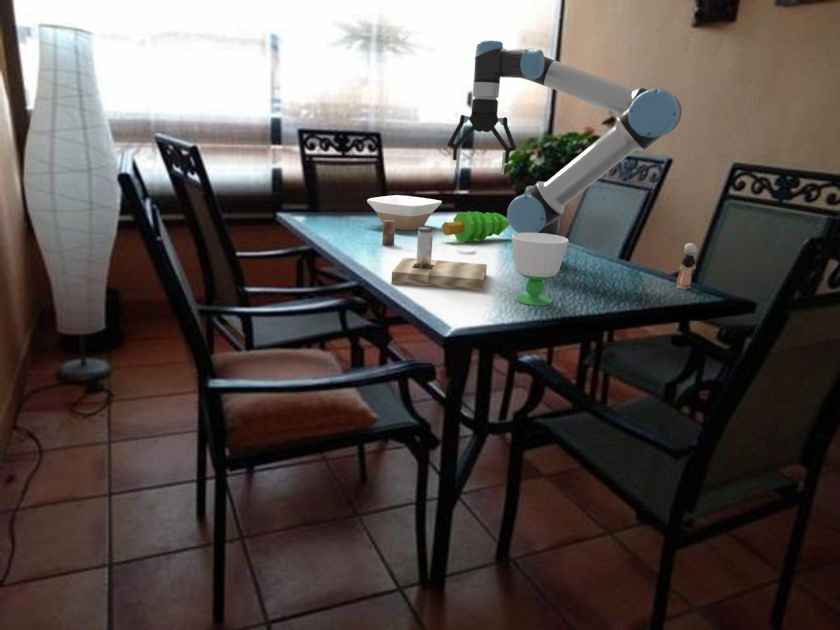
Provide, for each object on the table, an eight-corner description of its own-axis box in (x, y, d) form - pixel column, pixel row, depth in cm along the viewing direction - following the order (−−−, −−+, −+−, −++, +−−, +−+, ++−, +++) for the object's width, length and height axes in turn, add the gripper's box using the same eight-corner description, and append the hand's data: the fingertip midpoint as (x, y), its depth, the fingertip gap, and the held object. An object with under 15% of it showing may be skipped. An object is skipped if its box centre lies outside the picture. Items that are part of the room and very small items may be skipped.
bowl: (445, 227, 254) (447, 200, 251) (412, 235, 234) (413, 206, 231) (396, 220, 266) (397, 194, 263) (360, 226, 246) (361, 199, 243)
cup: (554, 294, 165) (561, 233, 160) (567, 309, 152) (575, 244, 147) (501, 292, 164) (507, 231, 159) (510, 307, 151) (517, 242, 146)
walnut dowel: (395, 243, 218) (395, 220, 215) (392, 245, 214) (393, 222, 212) (383, 242, 218) (384, 219, 216) (381, 244, 215) (381, 221, 212)
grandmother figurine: (680, 284, 182) (688, 240, 178) (694, 286, 180) (702, 242, 176) (671, 288, 176) (679, 243, 173) (685, 291, 174) (693, 246, 170)
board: (486, 274, 181) (486, 264, 181) (482, 290, 164) (483, 279, 164) (403, 267, 185) (403, 257, 184) (391, 282, 168) (391, 271, 167)
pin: (431, 273, 177) (434, 227, 173) (429, 277, 173) (432, 229, 169) (416, 272, 177) (419, 226, 173) (414, 275, 173) (417, 228, 169)
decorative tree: (441, 206, 223) (509, 201, 237) (434, 234, 230) (500, 227, 244) (458, 223, 216) (526, 217, 230) (450, 251, 223) (517, 243, 237)
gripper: (528, 101, 187) (521, 174, 193) (444, 97, 190) (440, 169, 196) (528, 100, 179) (521, 176, 186) (441, 96, 183) (437, 171, 189)
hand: (479, 173), depth 191 cm, fingers open, 13 cm apart
